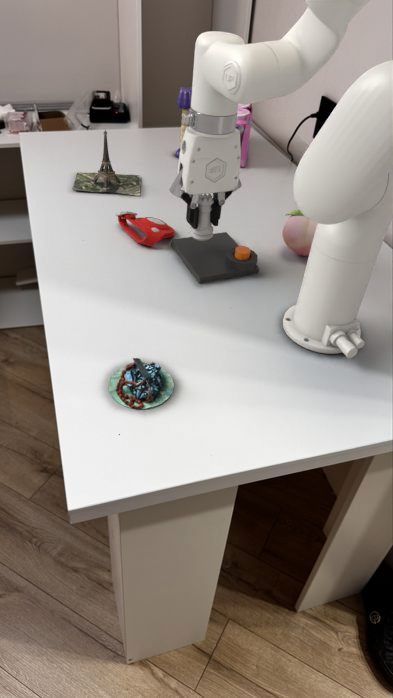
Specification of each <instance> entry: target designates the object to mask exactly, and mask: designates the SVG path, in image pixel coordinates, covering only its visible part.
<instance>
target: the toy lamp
mask: <svg viewBox="0 0 393 698" xmlns="http://www.w3.org/2000/svg"><path fill="white" fill-rule="evenodd" d="M191 96H192V87H189V86H183V87H180V89H179V92H178V95H177V99H176V103H175V104H176V107H177V108H180V109H181V117H182V116H183V115H187V114H189V108H191ZM180 127H181V128H180V130H181V131H180V140H179V141H180V145H179V147H180V148H177V150H176V151H175V152H174V156H175V157H176V158H178V159H179V155H180V149H181V144H182V140H183V136H184V133H185V129H186V127H189V125H188V124H183V122H182V121H181V125H180Z"/></svg>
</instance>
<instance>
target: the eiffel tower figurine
mask: <svg viewBox="0 0 393 698" xmlns="http://www.w3.org/2000/svg"><path fill="white" fill-rule="evenodd" d="M111 162H112V161H111V160H110V153H109V145H108V131H107V130H106V129H104V131H103V152H102V161H101V165H100V168H99V170H97V172H76V176H75V178H74V182H73V186H72V190H76V191H82V192H89V193H90V192H92V193H114V194H122V195H130V196H138V197H141V182H140V179H141V178H140V175H138V174H122V173H121V174H119V173H116V171H115V170H114V169H113V166H112V163H111Z"/></svg>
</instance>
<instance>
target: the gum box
mask: <svg viewBox="0 0 393 698" xmlns="http://www.w3.org/2000/svg"><path fill="white" fill-rule="evenodd" d="M253 113H254V106H253V103H251V104H238V111H237V119H236V127H235V128H236V129H237V130H239V132H240V146H241V158H240V168H245V167H246V164H247V158H248V150H249V142H250V135H251V128H252V121H253Z"/></svg>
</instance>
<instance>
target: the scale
mask: <svg viewBox="0 0 393 698" xmlns="http://www.w3.org/2000/svg"><path fill="white" fill-rule="evenodd" d="M238 246H240V245H239V244H238V243H237V242H236V240H234V239H233V238H232V237H231V236H230V234H228V232H227V231H224V232H217V233H213V237H212V238H211V239H209V240H207V241H199V240H195V239H194V238H192V236H188V237H181V238H173V239H171V240H170V247H171V248H172V249H173V251H174V252H175V253H176V255H177V256H178V257H179V259H180V260H181V261H182V263H183V264H184V266H185V267H186V268H187V270H188V271H189V272H190V274H191V275H192V277H193V279H195V281H196V282H197V283H198V284H199V285H200V284H207V283H212V282H219V281H224V280H225V281H226V280H230V279H235V278H241V277H248V276H253V275H258V274H259V269H260V267H259V266H258V257H259V256H258V254H257V253H256V252H255V251H254V250H253V249H250V250H251V252H250V258H249V259H248V260H239V259H237V258H235V249H236V247H238Z"/></svg>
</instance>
